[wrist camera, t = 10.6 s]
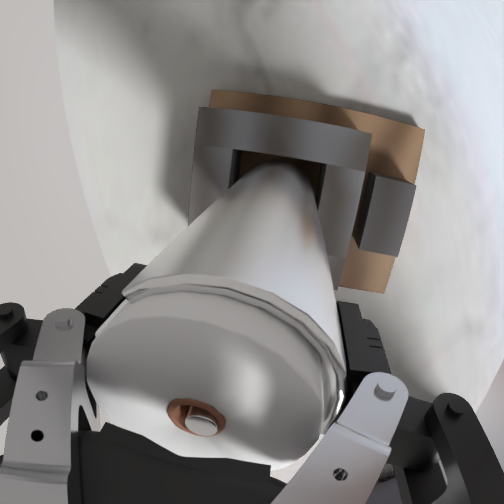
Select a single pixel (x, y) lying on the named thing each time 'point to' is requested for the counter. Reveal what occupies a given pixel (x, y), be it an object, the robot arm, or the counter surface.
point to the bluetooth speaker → (385, 493)
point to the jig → (318, 172)
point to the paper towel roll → (230, 331)
